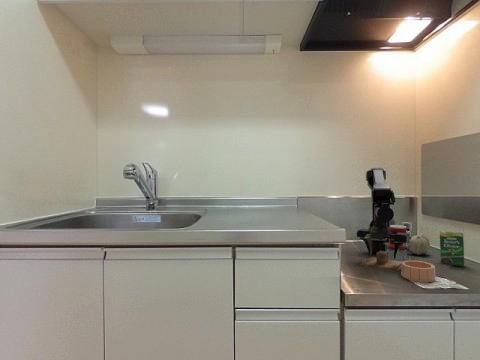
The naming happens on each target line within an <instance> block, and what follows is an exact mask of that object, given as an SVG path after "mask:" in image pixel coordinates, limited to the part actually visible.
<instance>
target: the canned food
mask: <svg viewBox="0 0 480 360" xmlns="http://www.w3.org/2000/svg"><path fill="white" fill-rule="evenodd" d="M390 230H391V233H390V234H397V233H398V232H399V233H407V226H406V225H402V224H390ZM394 242H396V240H395V239H390V238H389V242H388V243H389V244H388V245H389V246H388V247H389V248H390V249H391V250H392V249H393V250H394V247H395V245H394ZM406 249H407V243H404V244H402V245H401V247H400V249H399V251H401V250H402V251H404V250H406Z"/></svg>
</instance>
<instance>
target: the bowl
mask: <svg viewBox="0 0 480 360" xmlns="http://www.w3.org/2000/svg"><path fill="white" fill-rule="evenodd" d="M400 270H401V272H400V273H401V276H402V278H404V279H406V280H409V281H414V282H419V283H431V282H435V281H436V266H435V265H434V264H433V263H430V262H426V261H421V260H410V259H409V260H403V261H401V269H400Z"/></svg>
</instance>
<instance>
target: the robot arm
mask: <svg viewBox="0 0 480 360" xmlns="http://www.w3.org/2000/svg"><path fill="white" fill-rule="evenodd" d="M386 180H387V172H386V170H384V167H372V168H371V169H370V170H367V171H365V181H366V182H367V186H368V188H369V189H370V190H371V191H370V192H371V193H370V195H371V196H370V197H371V215H372V216H371V218H372V220H371V222H370V223H369V225H368V227H367V228H360V229H358V230H357V231H356V237H357V238H359V239H360V240H362V241H363V243H364V244H365V247H366V248H367V251H368V254H369V256H372V255H373V256H375V255H376V256H377V254H376V253H378V252H379V251H385V252H388V245H387V244H386V243H389V238H390V239H395V240H396V242H394V245H395V247H394V249H393V259H396V258H397V257H398V255H399V252H400V250H399V249H400V247H401V245H402V244H404V243H406V244H407V243H408V242H409V241H410V239H411V237H410V234H409V233H408V232H406V233H399V232H398V233H397V234H390V233H391V230H390V225H391V220H393V219H394V217H395V216H394V215H395V212H394V210H393V209H392V208H391V206H393V205H395V203H396V197H395V192H394V190H393V189H392V188H391V185H390V184H387V182H386Z"/></svg>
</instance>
